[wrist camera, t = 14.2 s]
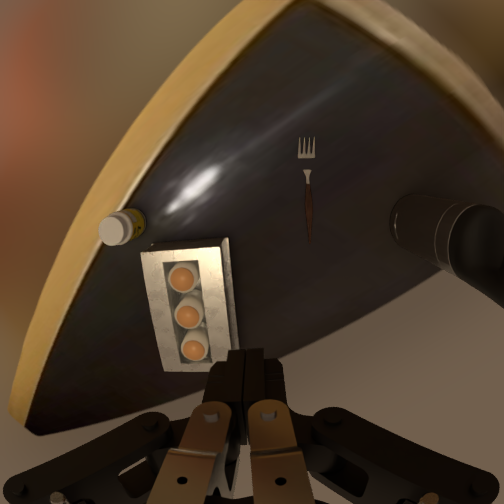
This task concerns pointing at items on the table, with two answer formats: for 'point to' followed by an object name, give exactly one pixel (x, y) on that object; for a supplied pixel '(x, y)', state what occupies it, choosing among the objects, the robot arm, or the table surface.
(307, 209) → the fork
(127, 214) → the supplement bottle
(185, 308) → the knob
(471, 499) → the robot arm
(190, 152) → the table surface
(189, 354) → the knob
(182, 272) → the knob
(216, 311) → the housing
